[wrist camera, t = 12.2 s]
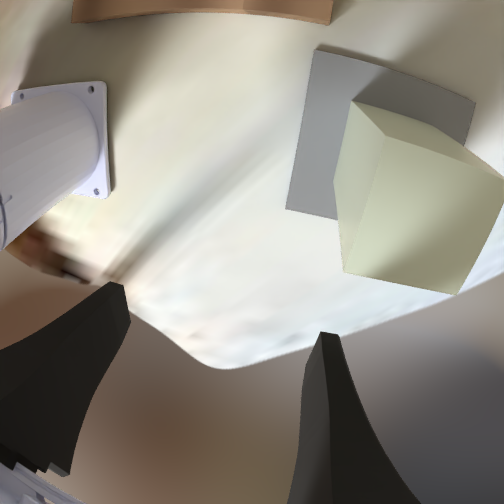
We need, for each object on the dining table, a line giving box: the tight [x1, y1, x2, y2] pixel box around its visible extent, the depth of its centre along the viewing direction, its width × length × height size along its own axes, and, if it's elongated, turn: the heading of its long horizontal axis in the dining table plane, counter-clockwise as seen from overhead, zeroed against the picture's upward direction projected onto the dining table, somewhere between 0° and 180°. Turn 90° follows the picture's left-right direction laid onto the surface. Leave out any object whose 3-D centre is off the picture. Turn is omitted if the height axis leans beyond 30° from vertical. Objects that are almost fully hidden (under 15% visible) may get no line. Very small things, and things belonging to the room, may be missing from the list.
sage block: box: [333, 101, 504, 295], centre depth 12 cm, size 4×4×8 cm
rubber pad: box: [285, 50, 476, 220], centre depth 15 cm, size 9×9×1 cm
